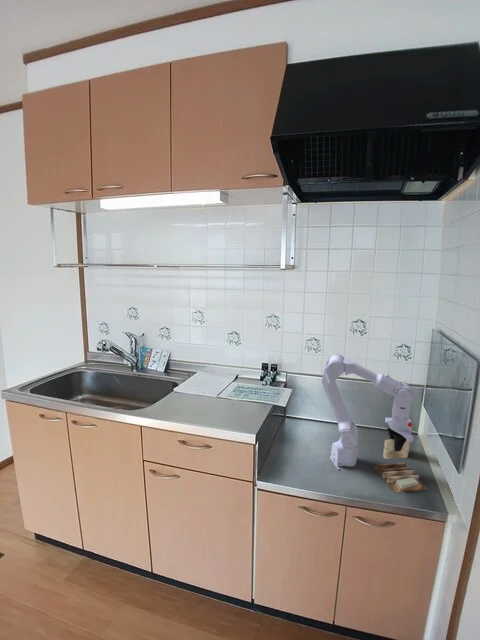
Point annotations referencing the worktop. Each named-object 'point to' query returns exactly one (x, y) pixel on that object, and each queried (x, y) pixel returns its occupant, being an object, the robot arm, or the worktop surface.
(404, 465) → the rack
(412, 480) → the offcut top
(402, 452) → the tan wooden block
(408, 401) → the robot arm
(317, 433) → the worktop surface
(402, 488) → the block
